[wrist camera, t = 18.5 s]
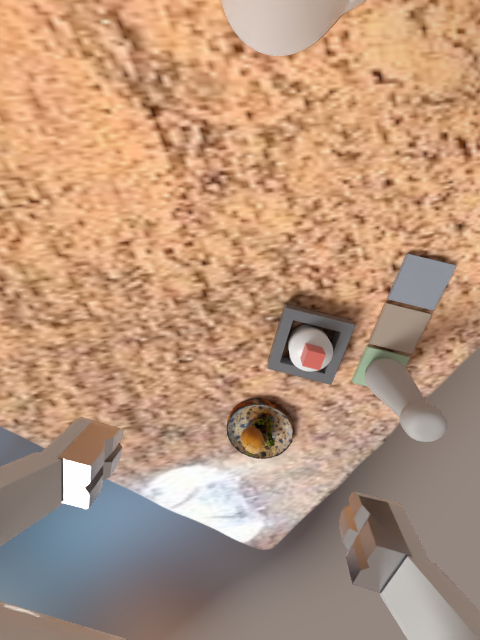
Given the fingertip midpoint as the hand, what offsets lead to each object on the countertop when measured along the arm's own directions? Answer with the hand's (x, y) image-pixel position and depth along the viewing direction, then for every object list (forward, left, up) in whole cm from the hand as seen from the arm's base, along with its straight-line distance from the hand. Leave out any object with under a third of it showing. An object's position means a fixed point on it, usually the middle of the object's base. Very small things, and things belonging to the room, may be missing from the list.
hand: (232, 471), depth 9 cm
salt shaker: (+7, +21, -31) cm, 38 cm away
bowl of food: (+24, +6, -32) cm, 40 cm away
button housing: (+6, +9, -31) cm, 33 cm away
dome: (+6, +9, -31) cm, 32 cm away
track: (0, +21, -31) cm, 37 cm away
